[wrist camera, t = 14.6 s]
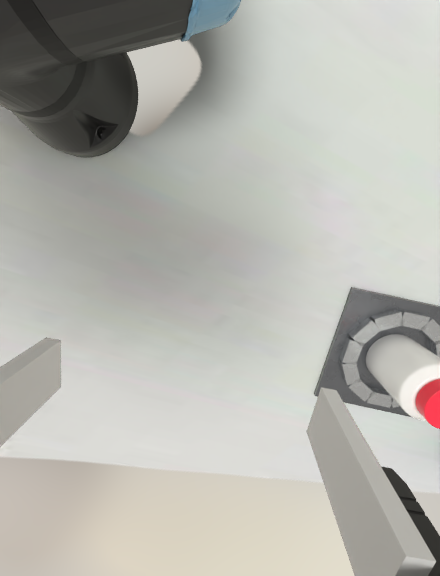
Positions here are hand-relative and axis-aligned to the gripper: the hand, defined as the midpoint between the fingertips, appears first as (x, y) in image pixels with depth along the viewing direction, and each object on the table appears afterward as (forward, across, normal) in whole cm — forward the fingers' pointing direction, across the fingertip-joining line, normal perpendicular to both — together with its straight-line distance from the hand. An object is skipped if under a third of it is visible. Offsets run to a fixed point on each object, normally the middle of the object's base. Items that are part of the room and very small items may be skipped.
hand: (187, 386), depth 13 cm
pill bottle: (+25, +28, -8) cm, 38 cm away
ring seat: (+25, +28, -8) cm, 38 cm away
